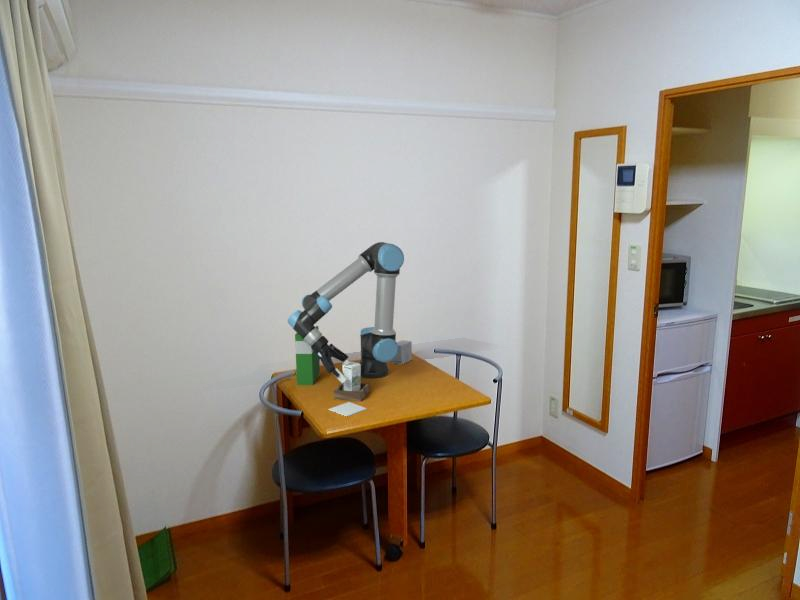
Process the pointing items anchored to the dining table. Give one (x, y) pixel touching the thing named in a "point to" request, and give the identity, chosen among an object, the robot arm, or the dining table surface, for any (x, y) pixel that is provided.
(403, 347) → the skincare box
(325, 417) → the dining table surface
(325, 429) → the dining table surface
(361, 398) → the walnut crate
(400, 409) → the dining table surface
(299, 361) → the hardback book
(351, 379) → the syrup box
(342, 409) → the grey mat
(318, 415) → the dining table surface
